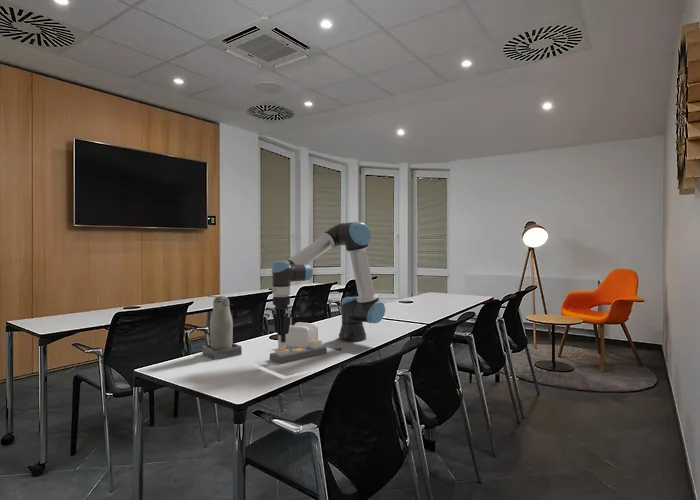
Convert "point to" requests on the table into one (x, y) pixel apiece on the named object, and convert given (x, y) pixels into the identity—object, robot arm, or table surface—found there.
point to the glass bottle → (221, 324)
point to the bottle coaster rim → (221, 352)
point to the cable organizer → (301, 334)
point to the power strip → (299, 354)
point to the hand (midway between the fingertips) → (281, 349)
